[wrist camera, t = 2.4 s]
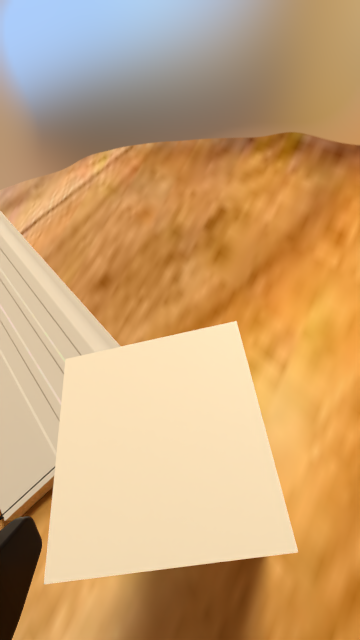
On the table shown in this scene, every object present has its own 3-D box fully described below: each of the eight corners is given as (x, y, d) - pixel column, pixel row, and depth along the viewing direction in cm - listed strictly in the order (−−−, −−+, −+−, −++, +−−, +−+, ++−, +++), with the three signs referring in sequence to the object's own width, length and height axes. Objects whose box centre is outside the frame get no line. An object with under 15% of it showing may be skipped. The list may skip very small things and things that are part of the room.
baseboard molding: (11, 204, 36) (-81, 266, 34) (-7, 182, 34) (-108, 247, 31) (178, 377, 20) (24, 521, 17) (166, 359, 17) (-15, 524, 15)
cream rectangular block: (271, 521, 14) (298, 552, 4) (189, 532, 15) (43, 584, 5) (250, 433, 16) (236, 320, 7) (179, 446, 17) (65, 358, 7)
